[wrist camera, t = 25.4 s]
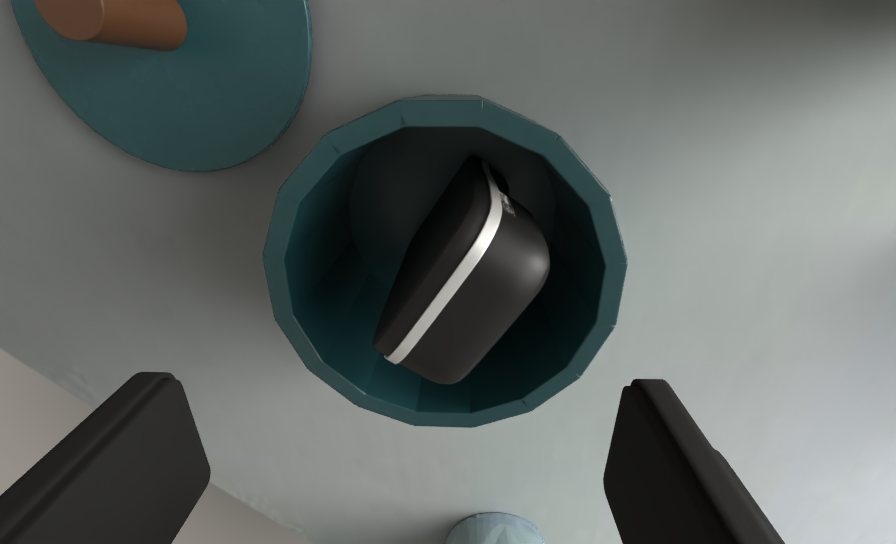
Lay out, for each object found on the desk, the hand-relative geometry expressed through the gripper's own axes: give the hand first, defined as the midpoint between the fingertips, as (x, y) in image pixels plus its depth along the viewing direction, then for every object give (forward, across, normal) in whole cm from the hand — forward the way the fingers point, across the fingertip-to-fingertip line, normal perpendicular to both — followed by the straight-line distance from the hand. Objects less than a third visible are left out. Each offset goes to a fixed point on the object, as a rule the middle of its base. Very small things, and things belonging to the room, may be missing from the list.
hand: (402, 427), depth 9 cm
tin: (+16, -1, 0) cm, 17 cm away
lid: (+16, +13, -9) cm, 23 cm away
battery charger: (+16, -2, 0) cm, 16 cm away
